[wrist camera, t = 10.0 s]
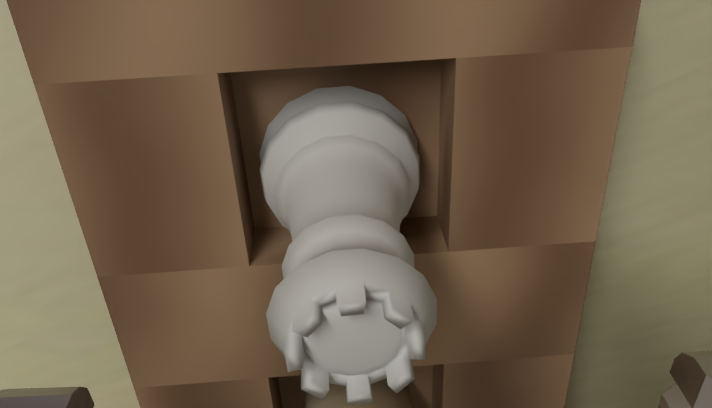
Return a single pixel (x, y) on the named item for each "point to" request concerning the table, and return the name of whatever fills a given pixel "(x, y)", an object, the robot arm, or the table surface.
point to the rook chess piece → (346, 242)
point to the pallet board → (271, 240)
